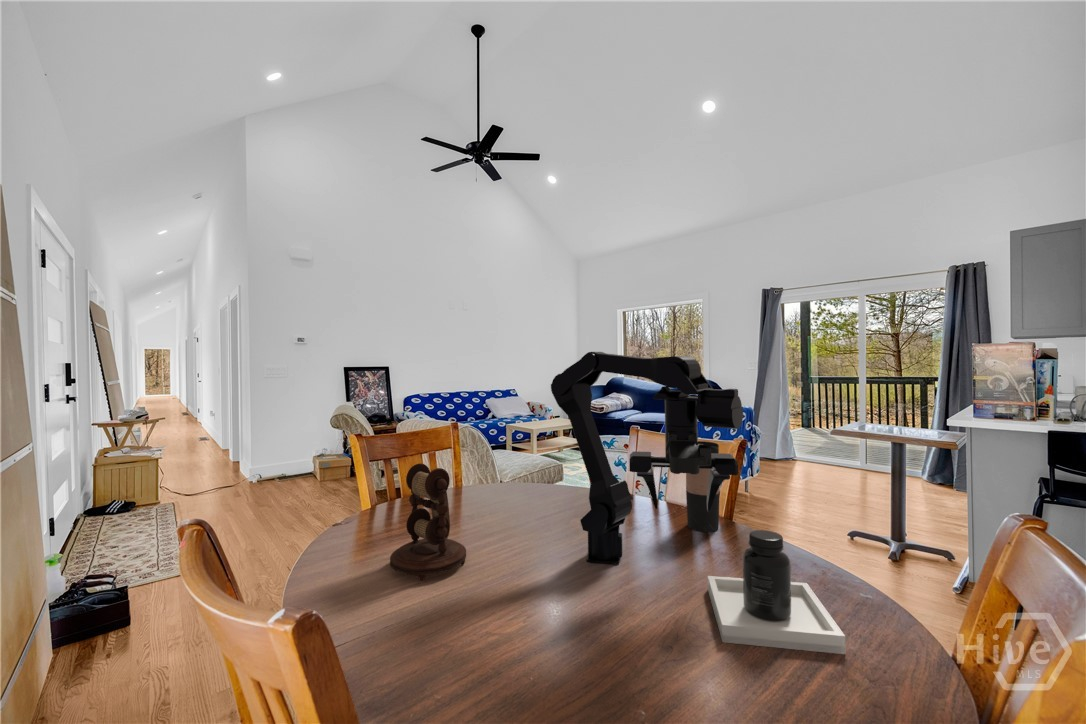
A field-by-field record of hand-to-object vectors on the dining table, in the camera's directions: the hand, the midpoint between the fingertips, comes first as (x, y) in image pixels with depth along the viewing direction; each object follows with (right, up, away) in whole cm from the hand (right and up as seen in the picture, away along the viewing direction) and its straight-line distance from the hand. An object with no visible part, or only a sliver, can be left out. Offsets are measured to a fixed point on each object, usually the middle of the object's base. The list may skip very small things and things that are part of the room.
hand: (682, 509), depth 89 cm
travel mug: (+13, -13, +28) cm, 34 cm away
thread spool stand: (-48, -14, +8) cm, 51 cm away
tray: (+10, -13, -13) cm, 21 cm away
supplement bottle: (+10, -12, -13) cm, 20 cm away
